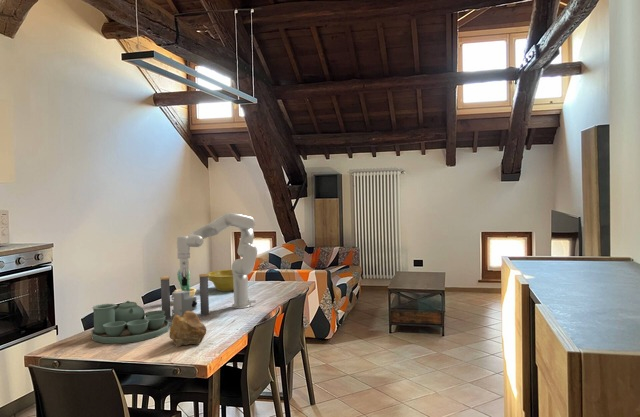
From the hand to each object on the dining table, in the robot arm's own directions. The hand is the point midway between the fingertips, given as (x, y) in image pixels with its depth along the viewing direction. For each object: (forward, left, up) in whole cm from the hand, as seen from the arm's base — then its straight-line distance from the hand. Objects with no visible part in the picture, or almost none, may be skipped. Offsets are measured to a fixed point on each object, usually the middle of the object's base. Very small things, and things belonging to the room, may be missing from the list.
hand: (184, 285), depth 291 cm
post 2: (-12, 0, -19) cm, 22 cm away
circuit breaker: (0, 0, -19) cm, 19 cm away
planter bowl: (-34, -76, -19) cm, 86 cm away
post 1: (+11, 0, -19) cm, 22 cm away
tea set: (+29, +26, -20) cm, 43 cm away
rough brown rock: (-1, +57, -19) cm, 61 cm away
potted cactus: (-1, -44, -19) cm, 48 cm away
